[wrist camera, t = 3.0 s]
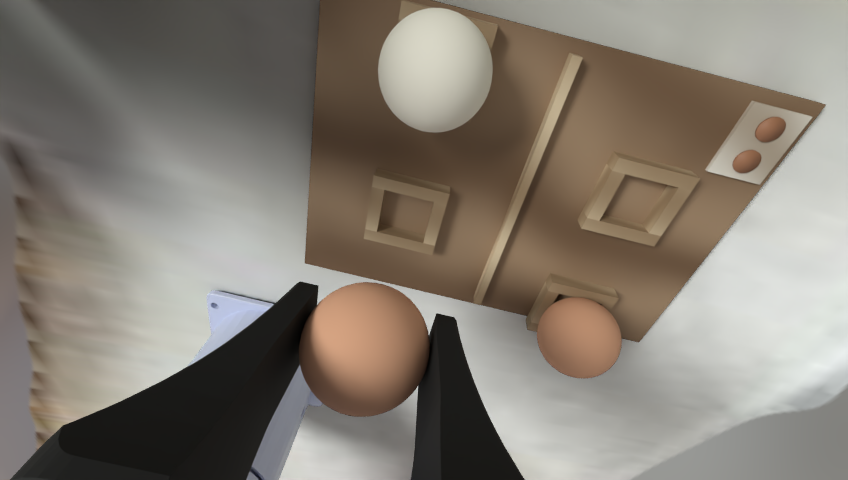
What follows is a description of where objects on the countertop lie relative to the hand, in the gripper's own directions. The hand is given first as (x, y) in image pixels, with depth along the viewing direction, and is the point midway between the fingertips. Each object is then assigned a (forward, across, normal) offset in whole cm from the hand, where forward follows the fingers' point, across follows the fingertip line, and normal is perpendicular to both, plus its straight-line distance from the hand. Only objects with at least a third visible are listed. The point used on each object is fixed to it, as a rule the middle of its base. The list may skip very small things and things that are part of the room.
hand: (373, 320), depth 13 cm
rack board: (+8, -5, -2) cm, 10 cm away
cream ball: (+5, 0, -7) cm, 9 cm away
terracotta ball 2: (+5, -10, +3) cm, 12 cm away
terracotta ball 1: (-1, 0, 0) cm, 1 cm away
